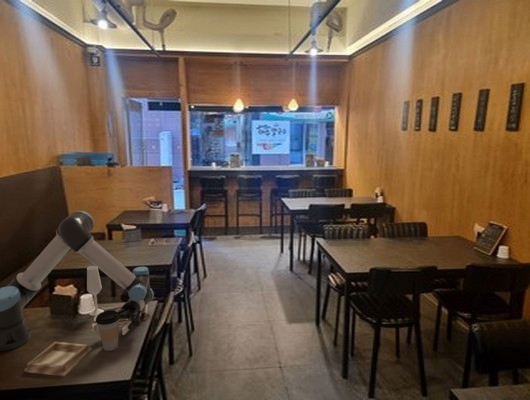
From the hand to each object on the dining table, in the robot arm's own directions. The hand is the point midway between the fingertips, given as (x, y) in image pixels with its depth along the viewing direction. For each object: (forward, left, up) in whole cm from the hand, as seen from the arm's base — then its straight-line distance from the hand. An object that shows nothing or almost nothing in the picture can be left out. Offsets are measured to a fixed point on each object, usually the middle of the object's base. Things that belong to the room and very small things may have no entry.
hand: (107, 330), depth 158 cm
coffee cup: (0, +1, -9) cm, 9 cm away
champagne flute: (-24, +28, -9) cm, 38 cm away
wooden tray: (-15, -11, -8) cm, 20 cm away
